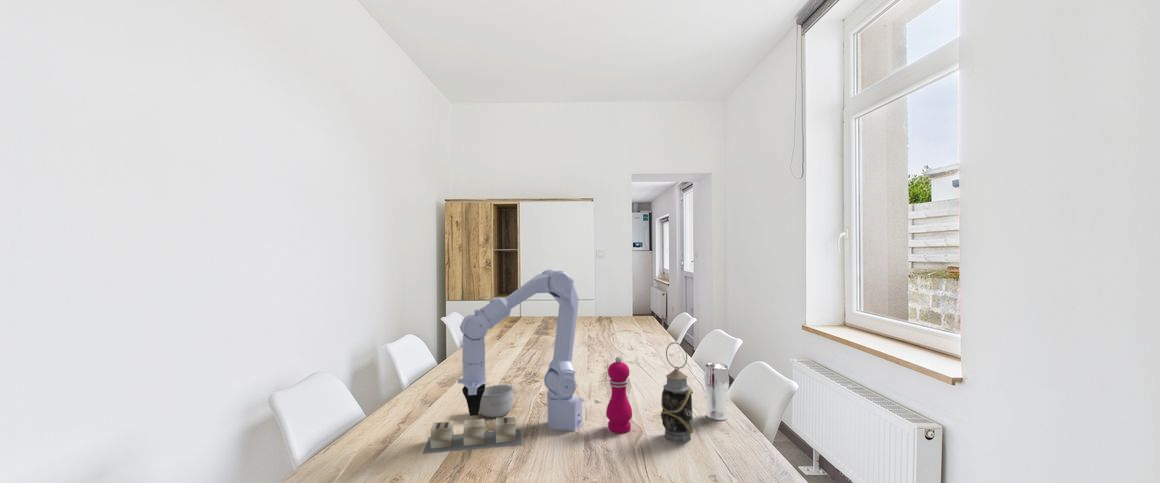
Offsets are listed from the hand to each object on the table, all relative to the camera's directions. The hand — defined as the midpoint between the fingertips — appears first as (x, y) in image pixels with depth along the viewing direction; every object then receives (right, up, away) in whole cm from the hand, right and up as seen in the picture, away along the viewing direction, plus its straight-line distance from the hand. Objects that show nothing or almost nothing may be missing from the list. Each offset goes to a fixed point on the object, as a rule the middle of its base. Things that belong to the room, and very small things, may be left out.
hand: (474, 414), depth 117 cm
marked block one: (+8, -7, +1) cm, 10 cm away
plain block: (0, -7, 0) cm, 7 cm away
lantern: (+53, -7, +2) cm, 54 cm away
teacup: (+3, -8, +21) cm, 23 cm away
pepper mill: (+38, -7, +8) cm, 40 cm away
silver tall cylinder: (+68, -7, +17) cm, 70 cm away
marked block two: (-8, -7, -2) cm, 10 cm away
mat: (0, -8, 0) cm, 8 cm away
